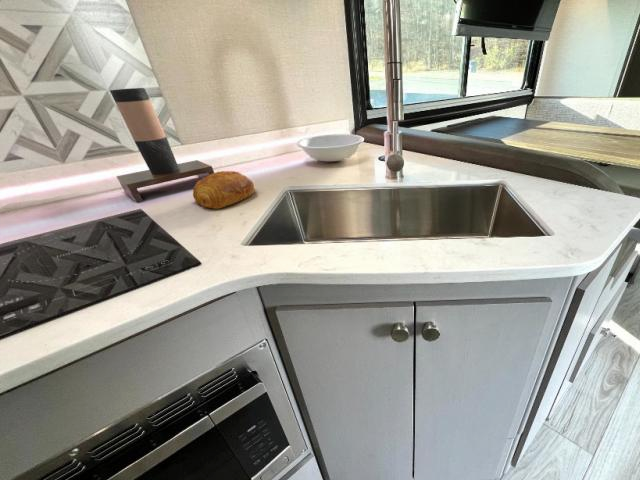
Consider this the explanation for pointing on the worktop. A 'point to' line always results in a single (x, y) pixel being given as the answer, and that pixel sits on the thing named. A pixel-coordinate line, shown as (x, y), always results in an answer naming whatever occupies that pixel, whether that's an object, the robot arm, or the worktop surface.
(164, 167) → the travel mug
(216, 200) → the croissant
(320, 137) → the soup bowl
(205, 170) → the shelf
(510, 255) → the worktop surface
